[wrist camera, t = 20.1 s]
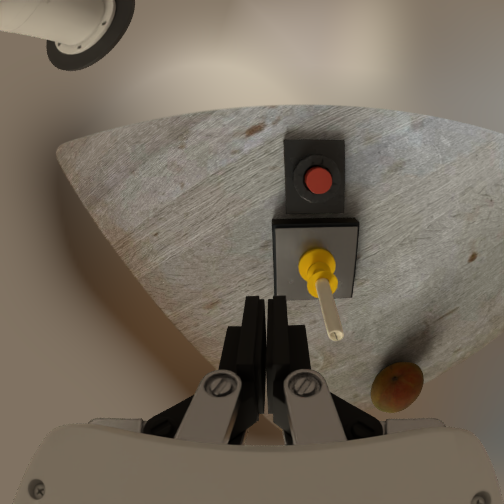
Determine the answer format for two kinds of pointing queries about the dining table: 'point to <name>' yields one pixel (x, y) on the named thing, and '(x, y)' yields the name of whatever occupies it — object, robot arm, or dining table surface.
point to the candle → (322, 287)
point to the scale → (305, 239)
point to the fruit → (397, 387)
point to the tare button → (318, 180)
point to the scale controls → (304, 158)
